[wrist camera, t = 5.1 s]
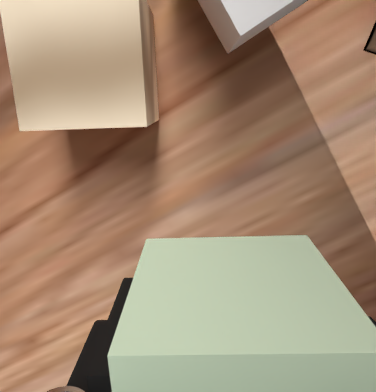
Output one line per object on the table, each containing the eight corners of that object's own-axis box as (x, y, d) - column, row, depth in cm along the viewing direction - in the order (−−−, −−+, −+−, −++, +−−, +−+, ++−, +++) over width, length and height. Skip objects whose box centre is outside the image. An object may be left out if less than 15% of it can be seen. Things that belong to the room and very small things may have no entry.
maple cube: (52, 19, 17) (-4, -13, 12) (153, 15, 17) (137, -19, 12) (65, 123, 18) (19, 131, 14) (159, 119, 18) (146, 126, 13)
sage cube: (146, 238, 11) (107, 356, 6) (306, 234, 11) (394, 352, 6) (156, 366, 12) (131, 541, 8) (297, 365, 12) (361, 543, 7)
